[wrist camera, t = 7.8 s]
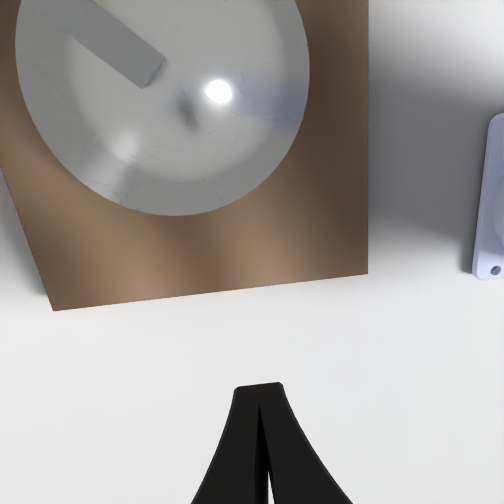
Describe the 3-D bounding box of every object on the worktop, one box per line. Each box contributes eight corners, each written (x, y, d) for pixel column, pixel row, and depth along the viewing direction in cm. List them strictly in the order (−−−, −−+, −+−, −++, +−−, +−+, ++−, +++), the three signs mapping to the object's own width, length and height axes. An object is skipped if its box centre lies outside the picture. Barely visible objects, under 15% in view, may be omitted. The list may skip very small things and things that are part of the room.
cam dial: (358, 50, 16) (413, 49, 11) (204, 247, 19) (194, 313, 14) (-27, -308, 12) (-209, -562, 7) (-144, 18, 15) (-328, 1, 10)
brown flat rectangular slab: (357, -281, 13) (375, -327, 12) (360, 262, 21) (371, 280, 20) (-118, -220, 14) (-165, -257, 12) (62, 298, 22) (48, 318, 20)
